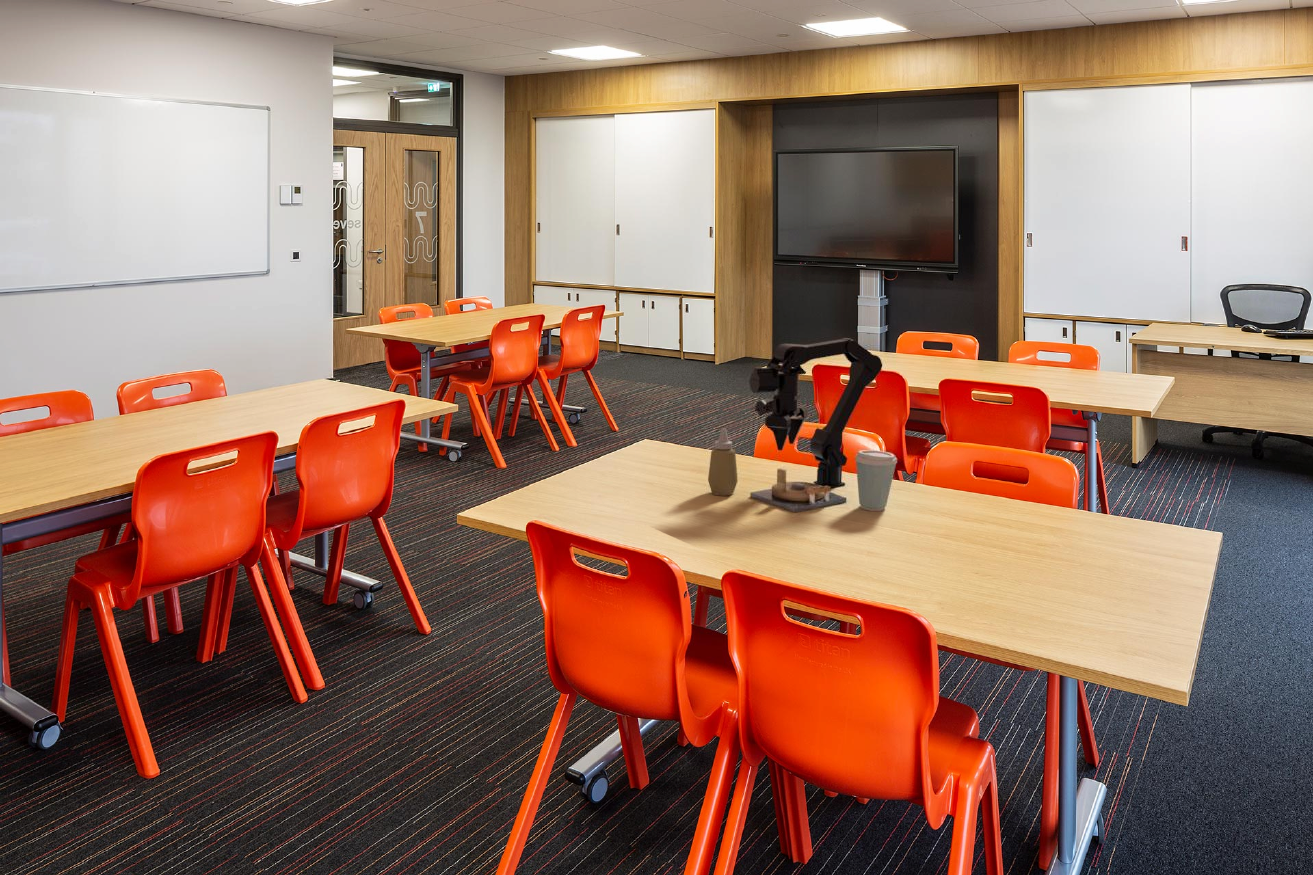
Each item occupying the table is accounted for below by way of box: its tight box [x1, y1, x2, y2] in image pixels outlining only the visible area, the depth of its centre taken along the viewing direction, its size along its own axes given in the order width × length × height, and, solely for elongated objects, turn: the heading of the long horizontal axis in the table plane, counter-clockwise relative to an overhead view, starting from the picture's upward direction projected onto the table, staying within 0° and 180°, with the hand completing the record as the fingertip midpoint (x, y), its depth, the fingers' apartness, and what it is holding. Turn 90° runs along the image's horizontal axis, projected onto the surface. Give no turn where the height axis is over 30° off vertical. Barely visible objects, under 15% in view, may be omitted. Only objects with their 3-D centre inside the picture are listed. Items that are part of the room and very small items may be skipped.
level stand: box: [749, 486, 847, 513], centre depth 273 cm, size 18×18×5 cm
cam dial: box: [771, 467, 824, 501], centre depth 272 cm, size 14×14×8 cm
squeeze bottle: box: [707, 428, 739, 497], centre depth 277 cm, size 8×8×18 cm
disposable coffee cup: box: [854, 449, 898, 512], centre depth 264 cm, size 11×11×15 cm
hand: (785, 446), depth 281 cm, fingers open, 9 cm apart
